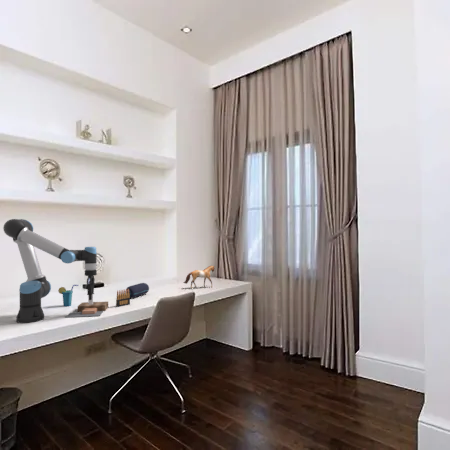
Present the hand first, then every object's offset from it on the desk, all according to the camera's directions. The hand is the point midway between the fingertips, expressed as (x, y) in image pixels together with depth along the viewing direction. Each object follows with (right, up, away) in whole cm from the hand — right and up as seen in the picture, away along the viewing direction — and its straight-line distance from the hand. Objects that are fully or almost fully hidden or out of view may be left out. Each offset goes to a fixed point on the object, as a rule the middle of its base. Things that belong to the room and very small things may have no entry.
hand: (90, 304), depth 230 cm
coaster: (0, -5, -2) cm, 6 cm away
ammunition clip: (+16, -6, +20) cm, 26 cm away
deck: (-1, -6, +8) cm, 10 cm away
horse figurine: (+67, -6, +95) cm, 116 cm away
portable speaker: (+17, -6, +55) cm, 58 cm away
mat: (-1, -5, -6) cm, 8 cm away
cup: (-25, -6, +21) cm, 33 cm away
